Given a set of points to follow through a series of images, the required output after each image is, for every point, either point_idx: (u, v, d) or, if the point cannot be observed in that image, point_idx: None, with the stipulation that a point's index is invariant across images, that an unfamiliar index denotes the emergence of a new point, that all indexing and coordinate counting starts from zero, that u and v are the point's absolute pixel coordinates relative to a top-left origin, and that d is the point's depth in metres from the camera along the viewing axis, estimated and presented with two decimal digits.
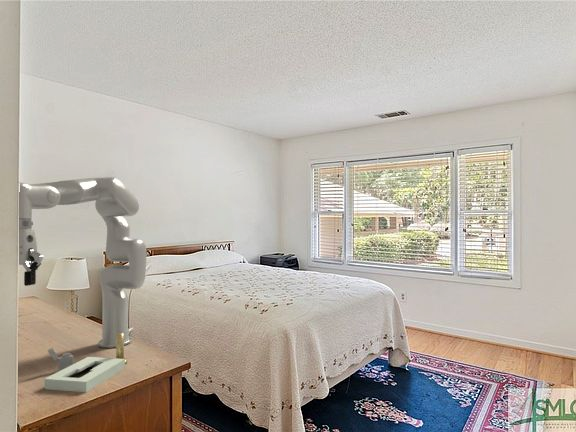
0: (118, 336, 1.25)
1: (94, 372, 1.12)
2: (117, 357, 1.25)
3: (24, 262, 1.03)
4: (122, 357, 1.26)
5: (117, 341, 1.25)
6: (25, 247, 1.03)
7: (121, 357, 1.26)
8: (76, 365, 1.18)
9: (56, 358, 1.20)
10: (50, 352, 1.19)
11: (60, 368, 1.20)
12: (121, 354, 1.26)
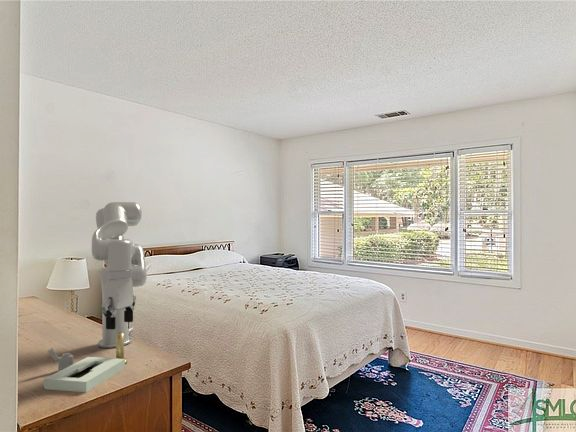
0: (118, 336, 1.25)
1: (94, 372, 1.12)
2: (117, 357, 1.25)
3: None
4: (122, 357, 1.26)
5: (117, 341, 1.25)
6: None
7: (121, 357, 1.26)
8: (76, 365, 1.18)
9: (56, 358, 1.20)
10: (50, 352, 1.19)
11: (60, 368, 1.20)
12: (121, 354, 1.26)
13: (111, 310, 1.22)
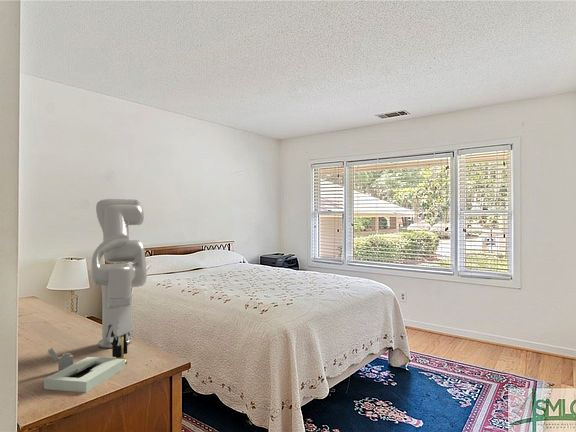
0: None
1: (94, 372, 1.12)
2: (117, 357, 1.25)
3: None
4: (122, 357, 1.26)
5: None
6: None
7: (121, 357, 1.26)
8: (76, 365, 1.18)
9: (56, 358, 1.20)
10: (50, 352, 1.19)
11: (60, 368, 1.20)
12: None
13: (115, 337, 1.25)
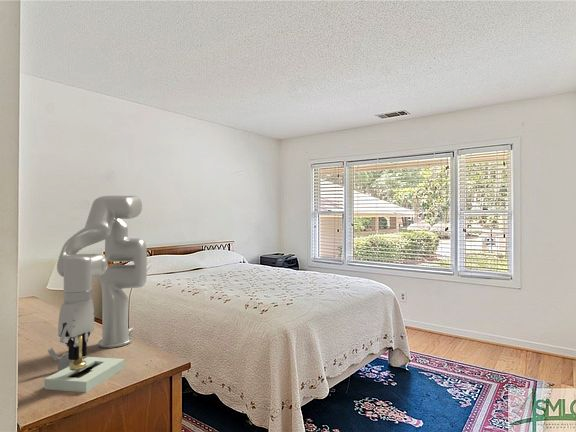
0: None
1: (94, 372, 1.12)
2: (74, 360, 1.10)
3: None
4: (80, 360, 1.11)
5: None
6: None
7: (79, 360, 1.10)
8: None
9: (56, 358, 1.20)
10: (50, 352, 1.19)
11: (60, 368, 1.20)
12: (79, 356, 1.10)
13: (72, 337, 1.10)
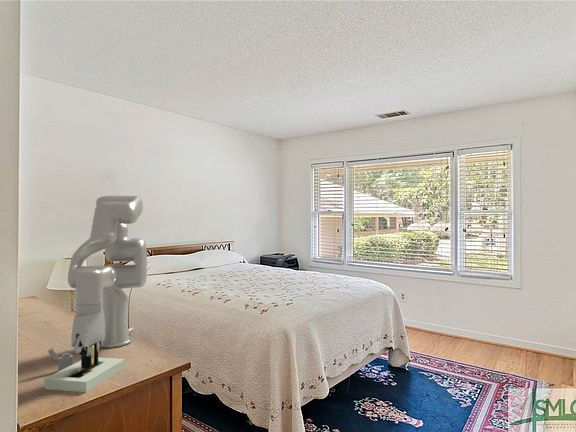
0: None
1: (94, 372, 1.12)
2: None
3: None
4: (92, 368, 1.16)
5: None
6: None
7: (91, 368, 1.16)
8: (76, 365, 1.18)
9: (56, 358, 1.20)
10: (50, 352, 1.19)
11: (60, 368, 1.20)
12: (91, 365, 1.16)
13: (84, 347, 1.15)
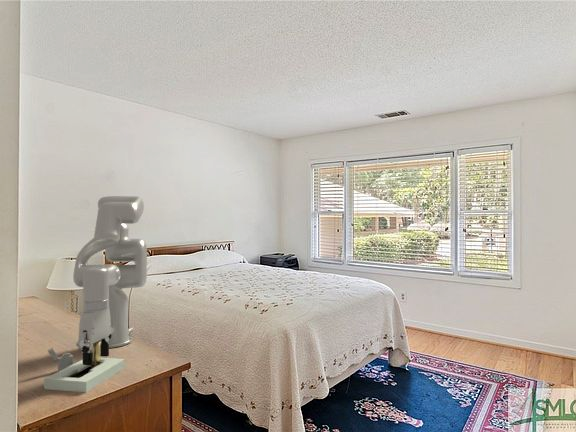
0: (94, 343, 1.18)
1: (94, 372, 1.12)
2: (93, 365, 1.18)
3: None
4: None
5: (93, 349, 1.18)
6: None
7: (97, 365, 1.18)
8: (76, 365, 1.18)
9: (56, 358, 1.20)
10: (50, 352, 1.19)
11: (60, 368, 1.20)
12: (97, 362, 1.18)
13: None
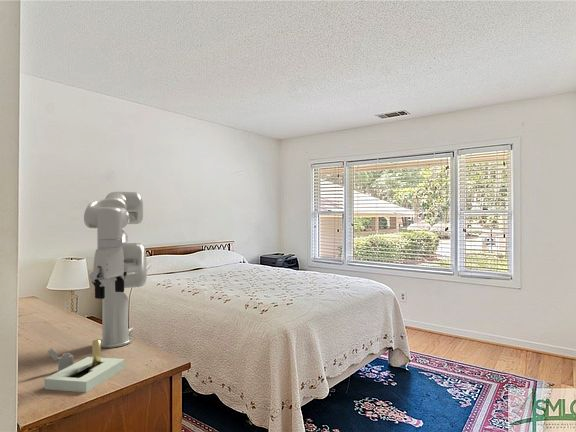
0: (94, 343, 1.18)
1: (94, 372, 1.12)
2: (93, 365, 1.18)
3: None
4: None
5: (93, 349, 1.18)
6: None
7: None
8: (76, 365, 1.18)
9: (56, 358, 1.20)
10: (50, 352, 1.19)
11: (60, 368, 1.20)
12: (98, 362, 1.18)
13: (100, 279, 1.19)
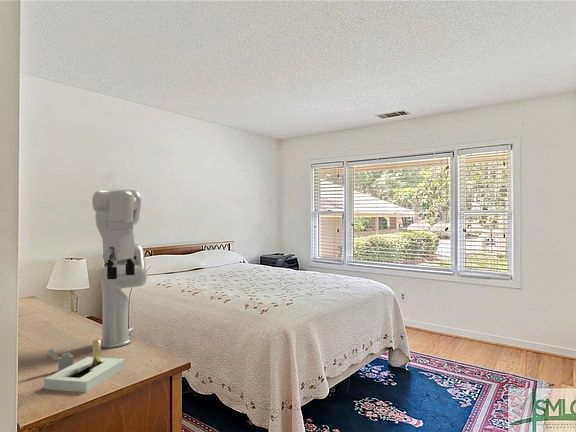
0: (95, 343, 1.18)
1: (94, 372, 1.12)
2: (93, 365, 1.18)
3: None
4: None
5: (93, 349, 1.18)
6: None
7: None
8: (76, 365, 1.18)
9: (56, 358, 1.20)
10: (50, 352, 1.19)
11: (60, 368, 1.20)
12: (98, 362, 1.18)
13: (112, 260, 1.21)
